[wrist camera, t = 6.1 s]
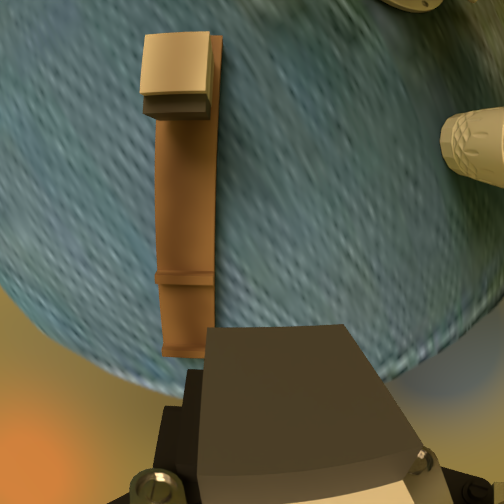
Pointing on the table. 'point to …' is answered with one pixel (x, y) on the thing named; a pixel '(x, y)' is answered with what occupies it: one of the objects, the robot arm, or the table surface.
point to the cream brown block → (298, 421)
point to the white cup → (475, 145)
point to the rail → (184, 180)
